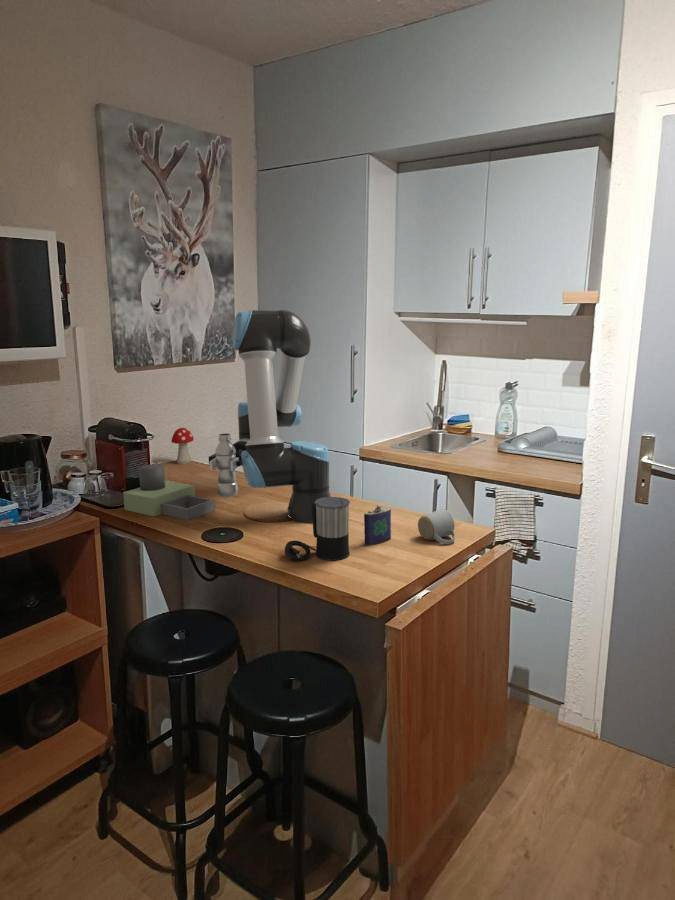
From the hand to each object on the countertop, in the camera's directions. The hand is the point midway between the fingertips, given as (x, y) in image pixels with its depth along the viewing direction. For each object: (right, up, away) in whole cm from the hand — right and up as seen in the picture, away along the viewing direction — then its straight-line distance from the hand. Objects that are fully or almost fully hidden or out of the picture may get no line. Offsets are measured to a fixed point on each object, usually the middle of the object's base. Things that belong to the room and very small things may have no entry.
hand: (221, 466), depth 205 cm
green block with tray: (-19, -15, +16) cm, 29 cm away
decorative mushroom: (-30, -1, +81) cm, 87 cm away
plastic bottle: (+1, -10, +7) cm, 12 cm away
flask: (+47, -21, -16) cm, 54 cm away
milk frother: (+30, -23, -27) cm, 47 cm away
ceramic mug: (+64, -20, -15) cm, 69 cm away
